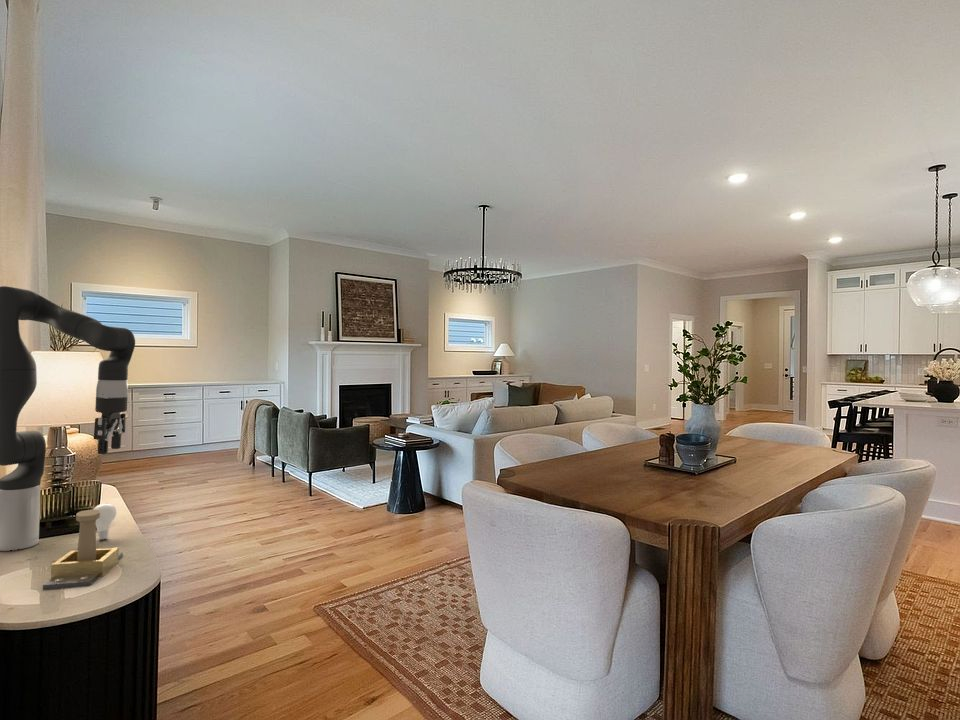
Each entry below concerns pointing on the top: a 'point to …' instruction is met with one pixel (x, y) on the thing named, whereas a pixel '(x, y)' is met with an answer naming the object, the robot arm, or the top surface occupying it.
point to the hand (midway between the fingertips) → (109, 451)
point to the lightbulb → (105, 519)
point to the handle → (87, 534)
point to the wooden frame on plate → (81, 568)
